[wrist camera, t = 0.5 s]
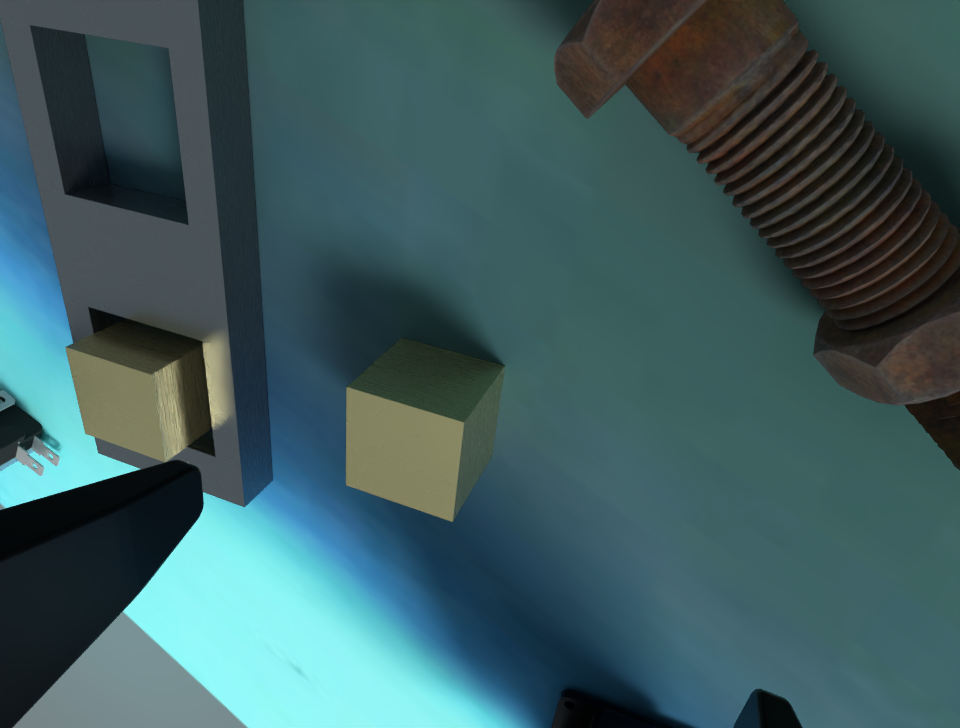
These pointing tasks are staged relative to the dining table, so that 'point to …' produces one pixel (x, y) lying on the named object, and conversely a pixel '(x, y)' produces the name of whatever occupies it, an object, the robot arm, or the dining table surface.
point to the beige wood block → (422, 426)
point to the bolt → (796, 182)
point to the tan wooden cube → (141, 388)
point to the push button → (20, 437)
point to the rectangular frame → (157, 208)
